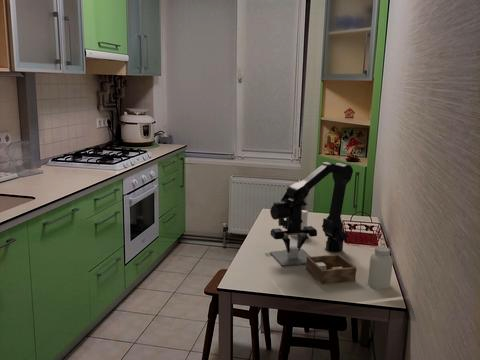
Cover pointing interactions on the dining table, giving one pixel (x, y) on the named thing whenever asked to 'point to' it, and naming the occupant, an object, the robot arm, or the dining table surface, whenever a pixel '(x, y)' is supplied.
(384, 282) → the pill bottle
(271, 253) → the lid
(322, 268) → the cream cube
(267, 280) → the dining table surface
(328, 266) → the storage box
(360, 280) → the dining table surface
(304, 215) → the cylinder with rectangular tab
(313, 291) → the dining table surface
